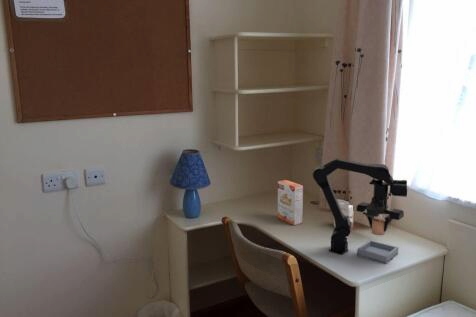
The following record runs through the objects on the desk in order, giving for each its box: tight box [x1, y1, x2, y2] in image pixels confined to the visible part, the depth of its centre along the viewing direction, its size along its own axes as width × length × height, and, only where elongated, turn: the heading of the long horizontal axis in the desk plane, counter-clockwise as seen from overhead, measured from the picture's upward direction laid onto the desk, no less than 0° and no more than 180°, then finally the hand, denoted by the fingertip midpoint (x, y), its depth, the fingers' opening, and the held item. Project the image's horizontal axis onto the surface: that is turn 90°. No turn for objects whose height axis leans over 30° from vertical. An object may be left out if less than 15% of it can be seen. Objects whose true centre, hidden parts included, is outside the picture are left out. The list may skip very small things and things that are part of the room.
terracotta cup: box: [371, 216, 386, 236], centre depth 185 cm, size 6×6×6 cm
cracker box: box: [277, 179, 304, 226], centre depth 229 cm, size 14×6×21 cm, turn 33°
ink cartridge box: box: [333, 198, 354, 229], centre depth 220 cm, size 9×5×15 cm, turn 45°
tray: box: [356, 239, 400, 265], centre depth 189 cm, size 13×13×3 cm
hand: (378, 229), depth 186 cm, fingers closed on terracotta cup, 5 cm apart
